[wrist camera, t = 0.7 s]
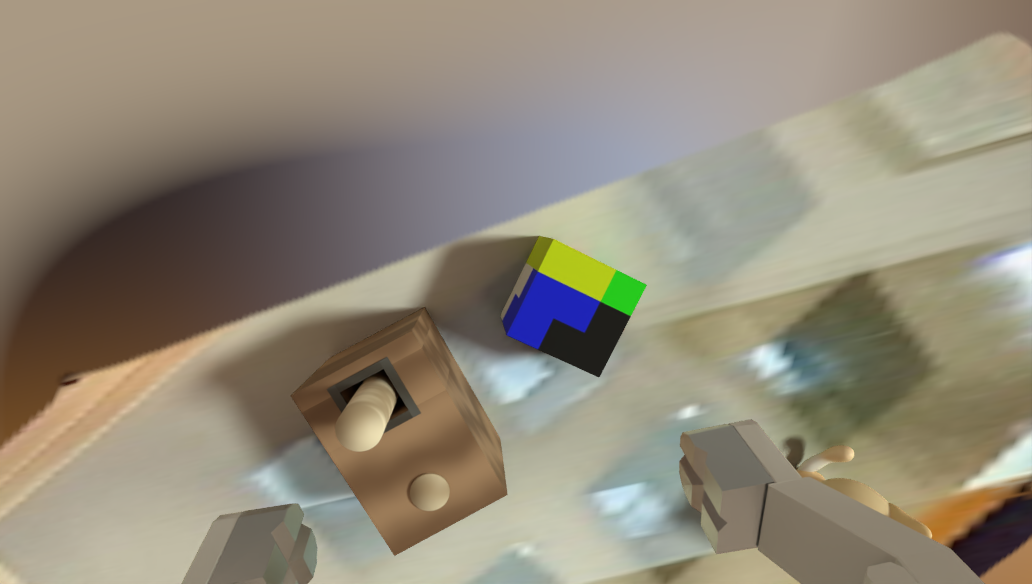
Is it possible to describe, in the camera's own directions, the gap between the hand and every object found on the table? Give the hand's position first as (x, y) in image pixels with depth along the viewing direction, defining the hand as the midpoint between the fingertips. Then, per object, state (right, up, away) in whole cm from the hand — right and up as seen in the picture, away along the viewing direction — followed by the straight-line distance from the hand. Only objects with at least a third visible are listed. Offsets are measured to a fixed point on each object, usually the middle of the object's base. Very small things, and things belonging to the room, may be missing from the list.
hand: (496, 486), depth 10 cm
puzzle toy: (+5, +4, +46) cm, 46 cm away
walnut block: (-11, -8, +46) cm, 48 cm away
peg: (-13, -5, +38) cm, 41 cm away
